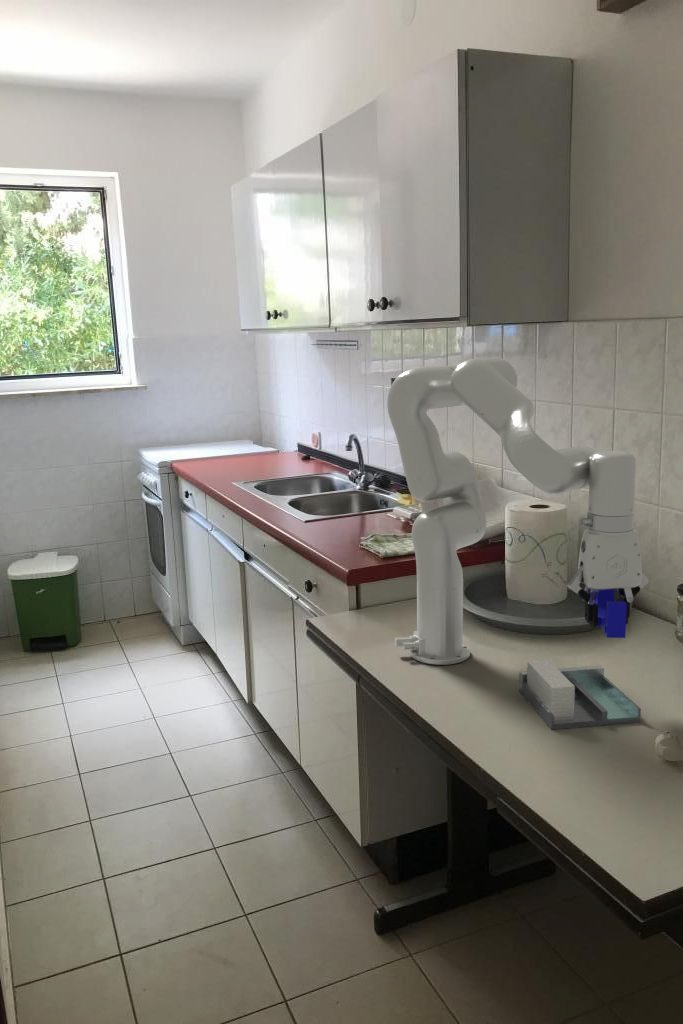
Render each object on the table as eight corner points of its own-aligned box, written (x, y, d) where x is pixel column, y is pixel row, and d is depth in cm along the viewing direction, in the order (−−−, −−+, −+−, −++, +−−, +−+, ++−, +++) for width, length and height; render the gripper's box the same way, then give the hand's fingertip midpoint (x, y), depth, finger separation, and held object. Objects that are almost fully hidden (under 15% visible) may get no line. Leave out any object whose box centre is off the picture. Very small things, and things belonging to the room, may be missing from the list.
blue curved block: (586, 614, 155) (587, 583, 153) (611, 615, 154) (612, 583, 153) (597, 637, 143) (599, 603, 142) (625, 637, 142) (626, 604, 141)
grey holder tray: (551, 729, 142) (552, 691, 141) (519, 691, 158) (519, 656, 156) (640, 722, 144) (642, 684, 143) (599, 684, 160) (601, 650, 158)
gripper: (572, 530, 140) (569, 633, 144) (667, 524, 142) (662, 626, 146) (554, 521, 147) (552, 619, 151) (645, 515, 150) (641, 613, 153)
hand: (606, 622), depth 148 cm, fingers closed on blue curved block, 4 cm apart
